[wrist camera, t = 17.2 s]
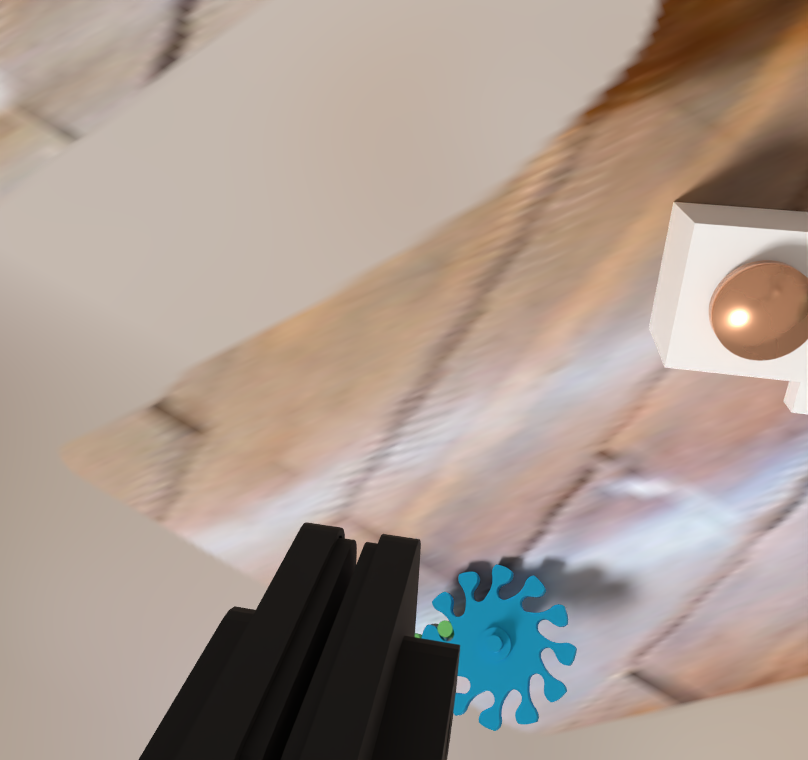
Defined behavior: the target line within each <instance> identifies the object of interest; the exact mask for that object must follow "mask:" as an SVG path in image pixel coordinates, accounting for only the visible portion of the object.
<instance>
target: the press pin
mask: <svg viewBox="0 0 808 760" xmlns="http://www.w3.org/2000/svg"><path fill="white" fill-rule="evenodd" d="M709 321H710V325H711V327H712V329H713V331H714V333H715V335H716V336H717V338H718V339H719V341H720V342H721V344H722V345H723V346H724V347H725V348H726V349H727V350H729V351H730V352H732V353H733V354H735V355H737V356H739V357H742V358H745V359H749V360H758V361H763V360H771V359H776V358H779V357H782V356H785V355H787V354H789V353H791V352H793V351H794V350H796V349H797V348H799V347H800V346H801V345H802V344H804V343H805V342H806V341H807V339H808V278H807V277H806V276H805V275H804V274H802V273H801V272H800V271H798V270H797V269H796V268H794V267H792V266H791V265H788V264H786V263H783V262H779V261H773V260H762V261H755V262H751V263H748V264H745V265H743V266H740V267H738V268H737V269H735V270H733V271H731V272H730V273H729V274H728V275H727V276H726V277H725V278H723V279H722V280H721V282H720V283H719V284H718V285H717V287H716V289H715V290H714V292H713V294H712V297H711V300H710V303H709Z"/></svg>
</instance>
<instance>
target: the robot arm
mask: <svg viewBox="0 0 808 760" xmlns="http://www.w3.org/2000/svg"><path fill="white" fill-rule="evenodd" d="M420 549H421V542H420V539H413V538H406V537H400V536H393V535H386V534H382V535H381V537H380V539H379V542H378V544H377V543H370V542H366V543H365V545H364V547H363V549H362V552H361V555H360V557H359V560H358V562H357V565H356V554H357V545H356V541H355V540H350V539H345V534H344V529H343V528H340V527H333V526H326V525H320V524H313V523H304V524H303V525H302V527H301V528H300V530H299V532H298V534H297V536H296V538H295V539H294V541H293V543H292V545H291V547H290V549H289V550H288V552H287V554H286V556H285V558H284V560H283V561H282V563H281V565H280V567H279V569H278V570H277V572H276V574H275V576H274V578H273V580H272V581H271V583H270V585H269V587H268V589H267V591H266V593H265V594H264V596H263V598H262V600H261V602H260V603H259V605H258V607H257V609H256V610H253V609H246V608H241V607H233V608H232V609H230V610H229V611H228V612H227V614H226V615H225V616H224V618H223V620H222V621H221V623H220V624H219V626H218V628H217V629H216V631H215V633H214V635H213V636H212V638H211V639H210V641H209V643H208V644H207V646H206V648H205V650H204V651H203V653H202V655H201V656H200V658H199V659H198V661H197V663H196V664H195V666H194V668H193V670H192V671H191V673H190V675H189V676H188V678H187V680H186V681H185V683H184V685H183V686H182V688H181V690H180V691H179V693H178V695H177V696H176V698H175V700H174V701H173V703H172V705H171V706H170V708H169V710H168V711H167V713H166V715H165V716H164V718H163V720H162V721H161V723H160V725H159V727H158V728H157V730H156V731H155V733H154V735H153V737H152V738H151V740H150V741H149V743H148V745H147V746H146V748H145V750H144V751H143V753H142V755H141V756H140V758H139V760H447V755H448V748H449V742H450V734H451V726H452V719H453V711H454V703H455V694H456V685H457V675H458V666H459V655H460V645H458V644H452V643H446V642H440V641H434V640H428V639H423V638H417V637H415V624H416V609H417V594H418V579H419V565H420Z"/></svg>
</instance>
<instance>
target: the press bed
mask: <svg viewBox="0 0 808 760" xmlns="http://www.w3.org/2000/svg"><path fill="white" fill-rule="evenodd" d="M762 260H773V261H779V262H783V263H786V264H788V265H791V266H792V267H794V268H796V269H797V270H798V271H800V272H801V273H802V274H804V275H805V276H806V277H807V278H808V212H801V211H788V210H775V209H762V208H749V207H736V206H722V205H709V204H696V203H683V202H673V207H672V212H671V217H670V222H669V228H668V233H667V238H666V243H665V248H664V253H663V258H662V263H661V269H660V274H659V279H658V284H657V289H656V294H655V299H654V304H653V310H652V315H651V320H650V325H649V330H650V332H651V335H652V337H653V340H654V342H655V345H656V347H657V350H658V352H659V355H660V357H661V359H662V362H663V364H664V367H666V368H675V369H685V370H694V371H703V372H712V373H721V374H730V375H739V376H749V377H758V378H767V379H776V380H785V381H789V384H788V387H787V391H786V394H785V398H784V403H785V404H786V405H787V407H788V408H789V410H790V411H791V412H792V413H800V414H808V339H807V341H806V342H805V343H804V344H802V345H801V346H800V347H799V348H797V349H796V350H794V351H793V352H791V353H789V354H787V355H785V356H782V357H779V358H776V359H771V360H763V361H758V360H749V359H745V358H742V357H739V356H737V355H735V354H733V353H732V352H730V351H729V350H727V349H726V348H725V347H724V346H723V345H722V344H721V342H720V341H719V339H718V338H717V336H716V335H715V333H714V331H713V329H712V327H711V325H710V321H709V303H710V300H711V297H712V294H713V292H714V290H715V289H716V287H717V285H718V284H719V283H720V282H721V280H722V279H723V278H725V277H726V276H727V275H728V274H729V273H730V272H731V271H733V270H735V269H737V268H738V267H740V266H743V265H745V264H748V263H751V262H755V261H762Z"/></svg>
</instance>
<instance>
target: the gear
mask: <svg viewBox="0 0 808 760" xmlns="http://www.w3.org/2000/svg"><path fill="white" fill-rule="evenodd" d="M513 576H514V574H513V572H512V571H511V570H509V569H508V568H506V567H504V566H501V565H497V564H496V565H495V566H494V567H493V570H492V577H493V578H492V586H491V589H490V591H489V593H488V595H487V596H486V597H485V599H484V600H483V601H481V602H477V601H476V600H475V598H474V592H475V590H476V588H477V587H478V585H479V583H480V577H479V575H478V574H477V573H476V572H464V573H461V574H459V578H458V580H459V583H460V585H461V586H462V588H463V590H464V593H465V597H466V607H465V612H464V614H463V615H462V616H460V617H457V616H455V614H454V612H453V607H454V599H453V597H452V596H451V595H450V594H449V593H447V592H443V593H441V594H439V595H438V596H437V597H436V598H435V599H434V600H433V601H432V604H433V606H434V608H435V609H436V610H438V611H440V612H442V613H443V614H444V615H445V616H446V617H447V618H448V619H449V621H450V622H449V621H442V622H440V623H439V624H431V625H427V626H426V627H425V629H424V631H423V634H422V635H421V634H417V633H415V637H417V638H423V639H428V640H434V641H440V642H446V643H452V644H458V645H460V655H459V666H458V675H457V676H462V677H466V678H467V679H468V680H469V681H470V684H471V687H470V690H469V692H468V693H466V694H462V693H456V694H455V703H454V711H453V713H454V714H455V715H456V716H457V715H462V714H464V713H465V712H466V710H467V708H468V706H469V704H470V702H471V701H472V700H473V698H475V697H476V696H477V695H479V694H480V693H482V692H485V691H487V690H488V691H490V692H492V693H493V695H494V697H495V702H494V704H493V706H492V707H490V708H488V709H486V710H484V711H482V712H481V714H480V716H479V723H480V724H481V725H483V726H484V727H486V728H488V729H491V730H494V731H496V730H498V729H499V728H500V727H501V724H502V716H501V711H502V705H503V703H504V700H505V699H506V697H507V695H508V694H509V692H510V691H511V690H513V689H515V690H518V691H519V692H520V693H521V696H522V702H521V704H520V706H519V707H518V709H517V710H516V714H515V717H516V721H517V723H519V724H531V723H535V722H538V718H539V715H538V712H537V710H536V708H535V707H534V705H533V703H532V701H531V698H530V692H529V686H530V678H531V677H532V675H534V674H540V675H541V676H542V677H543V679H544V694H545V696H546V698H547V699H548V700H549V701H550V702H555V701H557V700H559V699H560V698H561V697H562V696H563V695H564V694H565V693H566V692H567V689H566V686H565V685H564V684H563V683H562V682H561V681H559V680H557V679H555V678H554V677H553V676H552V675H550V674H549V672H548V671H547V670H546V668H545V666H544V664H543V662H542V659H541V652H542V651H543V650H544V649H545V648H551V649H552V650H553V651H554V652H555V654H556V657H557V659H558V660H559V662H560V663H562V664H564V665H568V666H571V664H572V663H573V661H574V659H575V655H576V650H577V648H576V647H575V646H574V645H572V644H570V643H555V642H552V641H550V640H548V639H546V638H545V637H544V636H542V635H541V634H540V633H539V631H538V624H539V622H540V621H542V620H549V621H550V622H552V623H553V624H554V625H556V626H559V627H564V626H566V625H568V616H567V612H566V609H565V607H564V606H563V605H559V604H558V605H554V606H553V607H551V608H550V609H548V610H547V611H544V612H539V613H532V612H526V611H524V609H523V607H522V602H523V600H524V599H525V598H527V597H541V596H543V595H544V594H545V593H546V589H545V587H544V585H543V584H542V583H541V581H540V580H539V579H537V578H536V577H535V576H530V577H529V578H528V579H527V580H526V582H525V585H524V586H523V588H522V590H521V591H520V592H519V593H518V594H516V595H515V596H513V597H511V598H509V599H506V600H502V599H501V598H500V596H499V590H500V588H501V587H502V586H504V585H506V584H508V583H510V582H511V581H512V579H513Z"/></svg>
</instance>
